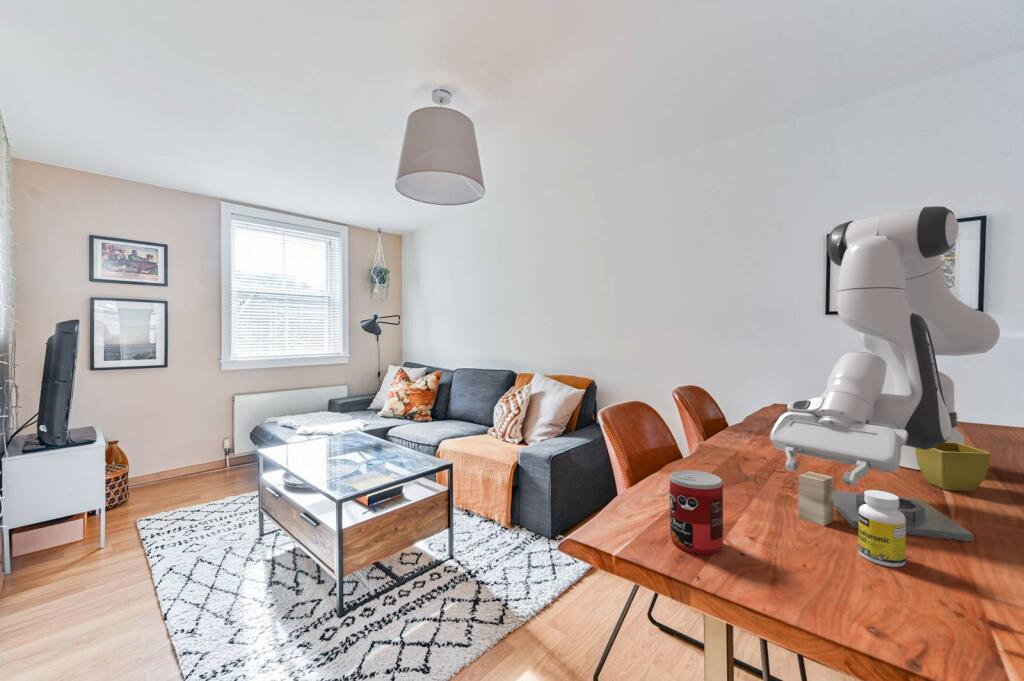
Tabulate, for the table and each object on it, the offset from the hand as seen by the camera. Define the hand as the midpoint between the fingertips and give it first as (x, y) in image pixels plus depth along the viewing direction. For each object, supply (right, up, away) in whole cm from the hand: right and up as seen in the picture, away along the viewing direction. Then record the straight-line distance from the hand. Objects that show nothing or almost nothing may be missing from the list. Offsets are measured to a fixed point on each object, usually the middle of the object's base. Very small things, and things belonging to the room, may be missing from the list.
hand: (817, 476), depth 79 cm
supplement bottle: (0, -8, -14) cm, 16 cm away
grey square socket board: (+14, -8, +1) cm, 16 cm away
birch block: (-1, -8, 0) cm, 8 cm away
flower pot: (+39, -7, +15) cm, 42 cm away
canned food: (-26, -9, -9) cm, 29 cm away
